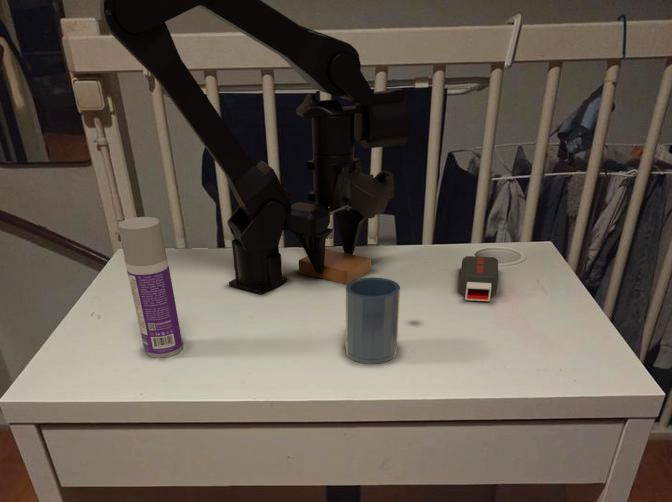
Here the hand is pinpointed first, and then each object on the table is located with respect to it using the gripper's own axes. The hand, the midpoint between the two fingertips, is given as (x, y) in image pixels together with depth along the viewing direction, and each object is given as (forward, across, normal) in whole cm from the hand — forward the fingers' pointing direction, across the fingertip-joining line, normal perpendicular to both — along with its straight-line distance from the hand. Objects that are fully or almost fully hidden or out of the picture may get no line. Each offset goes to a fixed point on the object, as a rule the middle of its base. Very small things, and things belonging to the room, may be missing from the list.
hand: (334, 265), depth 95 cm
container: (+1, -33, +3) cm, 33 cm away
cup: (+1, -20, -19) cm, 28 cm away
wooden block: (+1, 0, 0) cm, 1 cm away
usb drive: (+1, +6, -21) cm, 22 cm away
